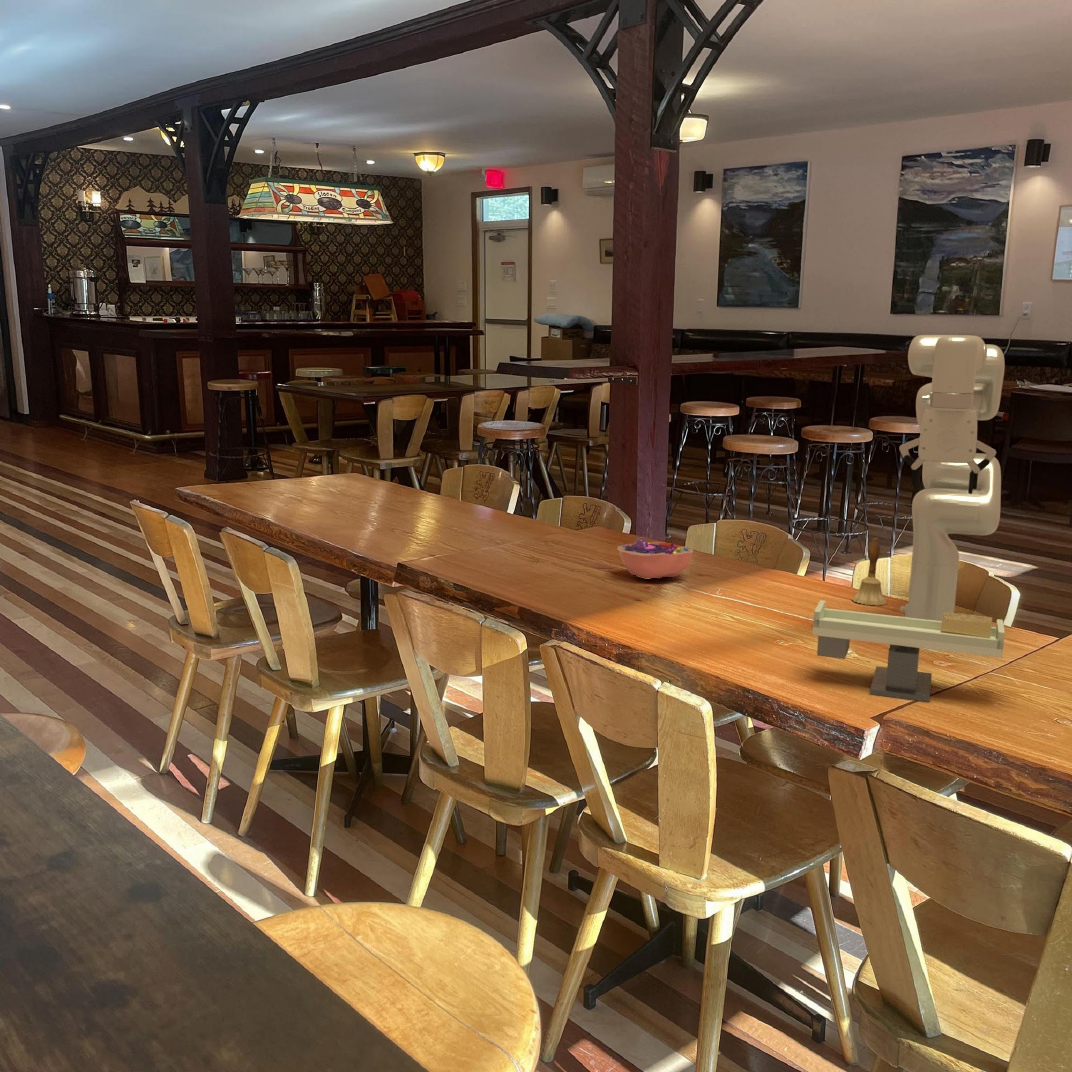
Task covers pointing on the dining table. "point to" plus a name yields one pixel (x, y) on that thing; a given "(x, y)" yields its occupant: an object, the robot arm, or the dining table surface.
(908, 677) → the pivot stand
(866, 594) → the hand bell
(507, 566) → the dining table surface
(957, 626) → the block
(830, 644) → the balance beam
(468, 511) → the dining table surface
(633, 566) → the cell model
